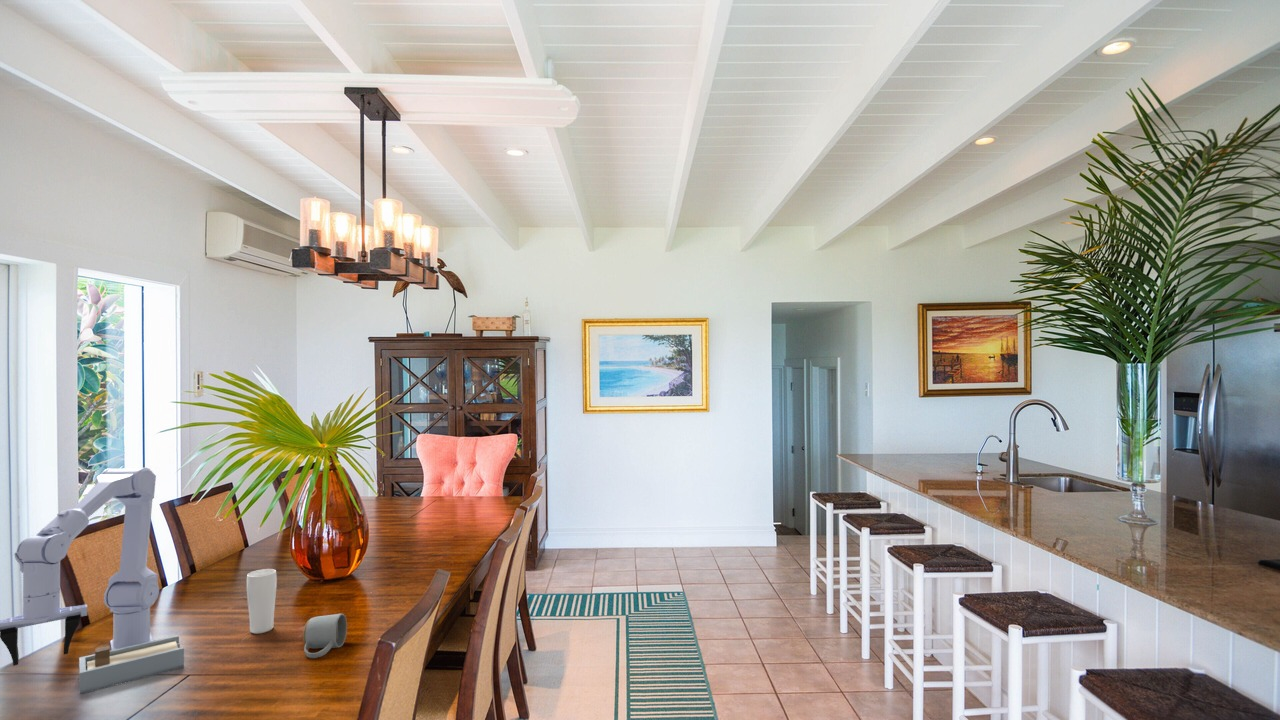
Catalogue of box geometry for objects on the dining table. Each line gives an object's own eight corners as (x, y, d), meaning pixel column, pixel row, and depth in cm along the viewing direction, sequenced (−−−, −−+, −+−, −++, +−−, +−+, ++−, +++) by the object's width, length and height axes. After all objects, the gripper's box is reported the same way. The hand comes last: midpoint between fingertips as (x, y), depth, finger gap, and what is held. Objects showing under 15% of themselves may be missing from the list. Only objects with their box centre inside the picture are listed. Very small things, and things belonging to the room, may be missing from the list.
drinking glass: (243, 630, 169) (243, 572, 169) (272, 623, 173) (272, 567, 173) (250, 637, 164) (250, 578, 164) (280, 630, 168) (279, 572, 169)
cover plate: (87, 664, 143) (87, 646, 143) (175, 643, 154) (175, 627, 154) (87, 675, 138) (87, 657, 138) (179, 653, 148) (179, 636, 148)
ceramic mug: (313, 641, 162) (313, 610, 161) (347, 639, 162) (347, 608, 162) (295, 660, 151) (295, 628, 151) (331, 659, 152) (331, 626, 152)
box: (79, 677, 143) (79, 657, 143) (178, 653, 155) (178, 634, 155) (79, 694, 136) (79, 673, 136) (183, 667, 148) (183, 648, 148)
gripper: (-9, 606, 128) (-10, 675, 128) (87, 589, 138) (87, 653, 137) (-6, 597, 133) (-7, 663, 133) (86, 581, 143) (86, 643, 143)
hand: (41, 658), depth 135 cm, fingers open, 7 cm apart
